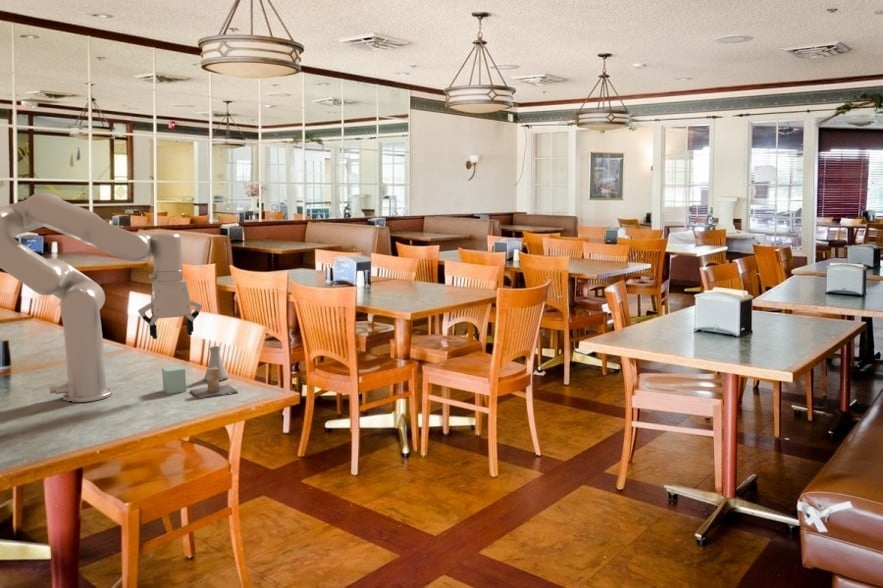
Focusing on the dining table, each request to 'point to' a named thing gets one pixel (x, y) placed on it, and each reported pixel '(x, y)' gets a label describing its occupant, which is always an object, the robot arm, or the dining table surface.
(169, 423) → the dining table surface
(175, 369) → the sage green cube
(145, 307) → the robot arm
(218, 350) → the flask
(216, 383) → the thin dark base plate
